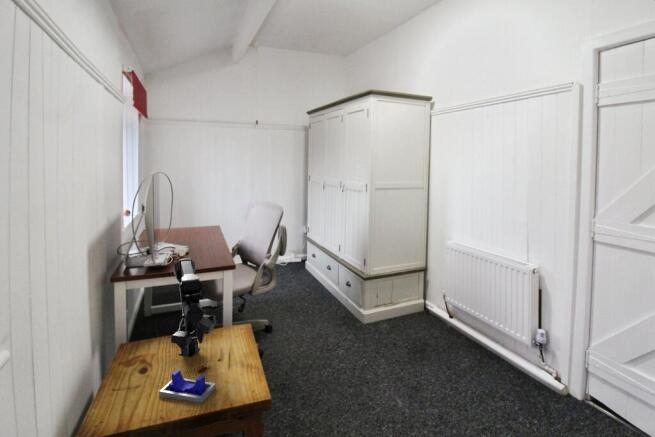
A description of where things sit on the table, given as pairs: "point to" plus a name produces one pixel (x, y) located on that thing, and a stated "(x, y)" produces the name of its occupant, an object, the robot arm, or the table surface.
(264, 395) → the table surface
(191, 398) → the tray
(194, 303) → the robot arm
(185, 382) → the blue curved cradle
